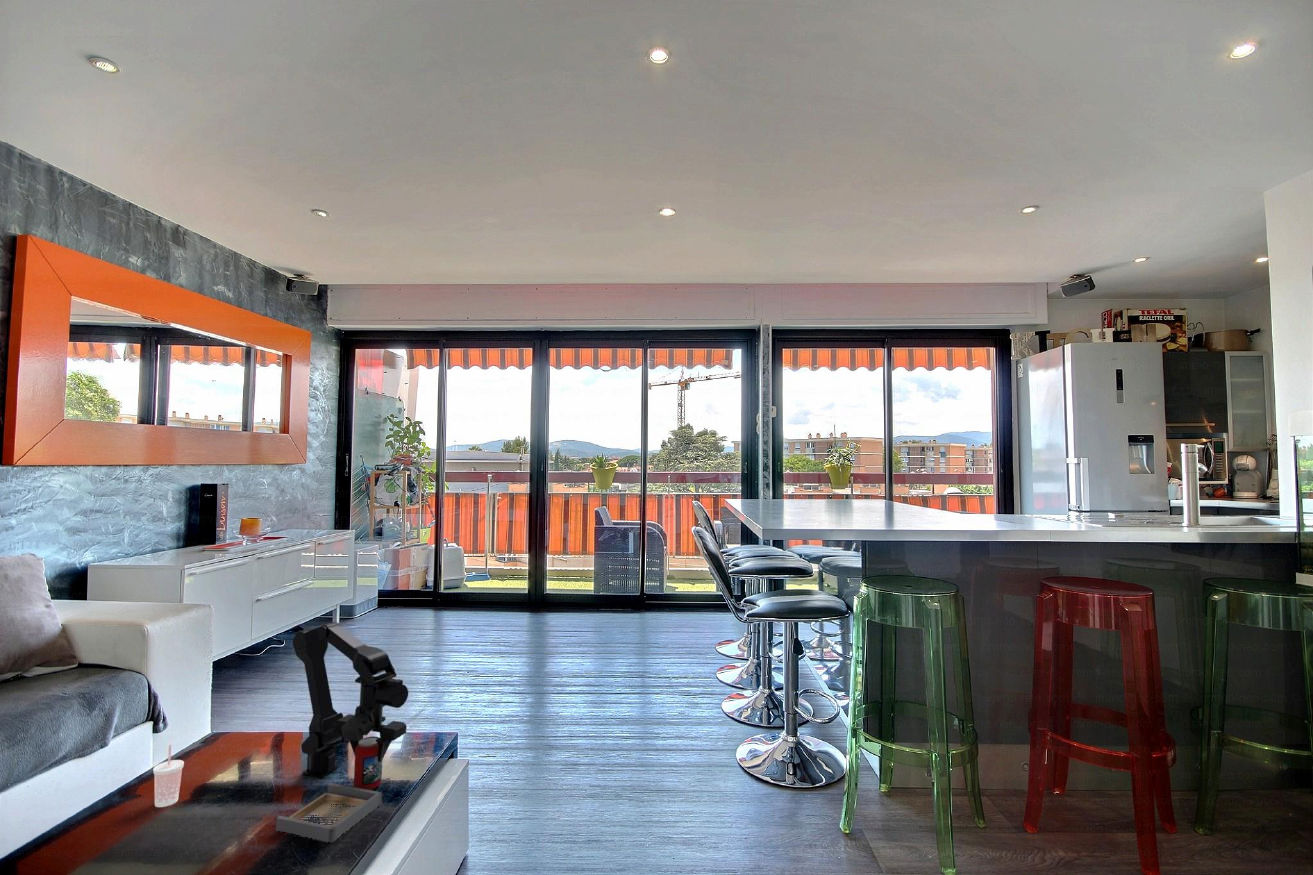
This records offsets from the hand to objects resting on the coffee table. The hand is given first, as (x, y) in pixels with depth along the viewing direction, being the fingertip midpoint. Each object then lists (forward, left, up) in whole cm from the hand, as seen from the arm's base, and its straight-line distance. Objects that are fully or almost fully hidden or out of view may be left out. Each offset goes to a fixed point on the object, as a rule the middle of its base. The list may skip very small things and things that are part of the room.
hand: (368, 759), depth 164 cm
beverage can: (0, 0, -7) cm, 7 cm away
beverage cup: (-42, -21, -7) cm, 48 cm away
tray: (0, -15, -8) cm, 16 cm away
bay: (+1, -15, -7) cm, 16 cm away
